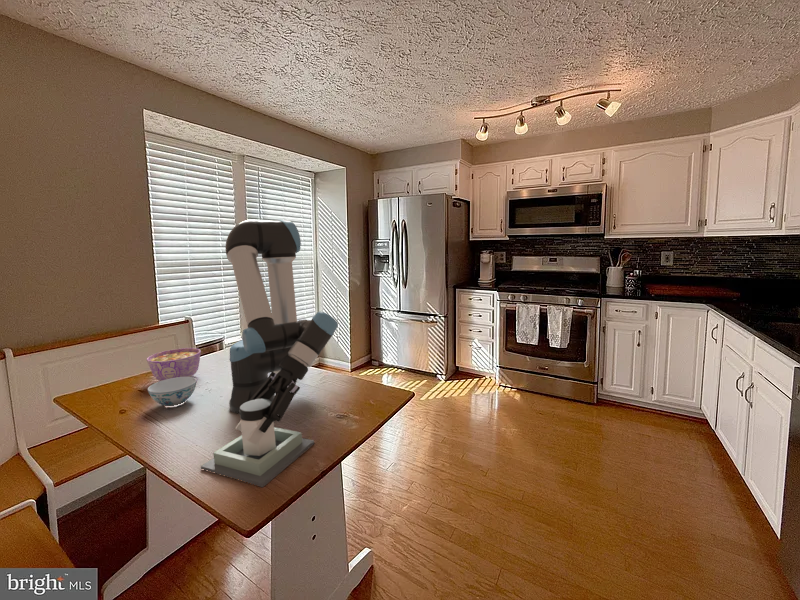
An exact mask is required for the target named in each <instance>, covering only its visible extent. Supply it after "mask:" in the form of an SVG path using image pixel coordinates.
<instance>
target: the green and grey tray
mask: <svg viewBox="0 0 800 600" xmlns="http://www.w3.org/2000/svg"><path fill="white" fill-rule="evenodd" d="M274 427H275V437H276V448H274V449H273V450H271V451H269V452H267V453H265V454H263V455H261V456H255V455H244V451H243V442H242V434H241V435H240V436H238V437H236V438H235V439H233V440H232V441H230V442H228V443H226V444H225V445H224V446H221V448H219V449H217V450H215V451H214V452H213V453H212V454H213V458H211V459H209V460H208V461H207V462H205V463H203V464H202V465H200V470H201V469H204V470H208V471H211V472H215V473H218V474H221V475H225V476H228V477H232V478H235V479H239V480H242V481H245V482H244V483H246V482H248V483H247V484H249V483H251V484H250V485H253V484H254V486H256V485H257V486H258V487H260V488H264V487H265V486H267V484H269V483H270V482H271V481H272V480H273V479H274V478H276V477H277V476H278V475H280V473H282V472H283V471H284V470H285V469H286V468H287V467H289V466H290V465H291V464H293V462H295V461H296V460H297V459H298V458H299V457H301V456H302V455H304V453H305V452H306V451H308V450H309V449H310V448H311V447H313V445H315V440H314V439H309V438H303V435H302V432H300V431H296V430H291V429H286V428H280V427H278V426H277V427H276V426H274ZM211 472H210V473H211ZM218 474H217V475H218ZM221 475H220V476H221ZM225 476H224V477H225ZM228 477H227V478H228ZM232 478H231V479H232ZM235 479H234V480H235ZM239 480H238V481H239ZM242 481H241V482H242Z"/></svg>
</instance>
